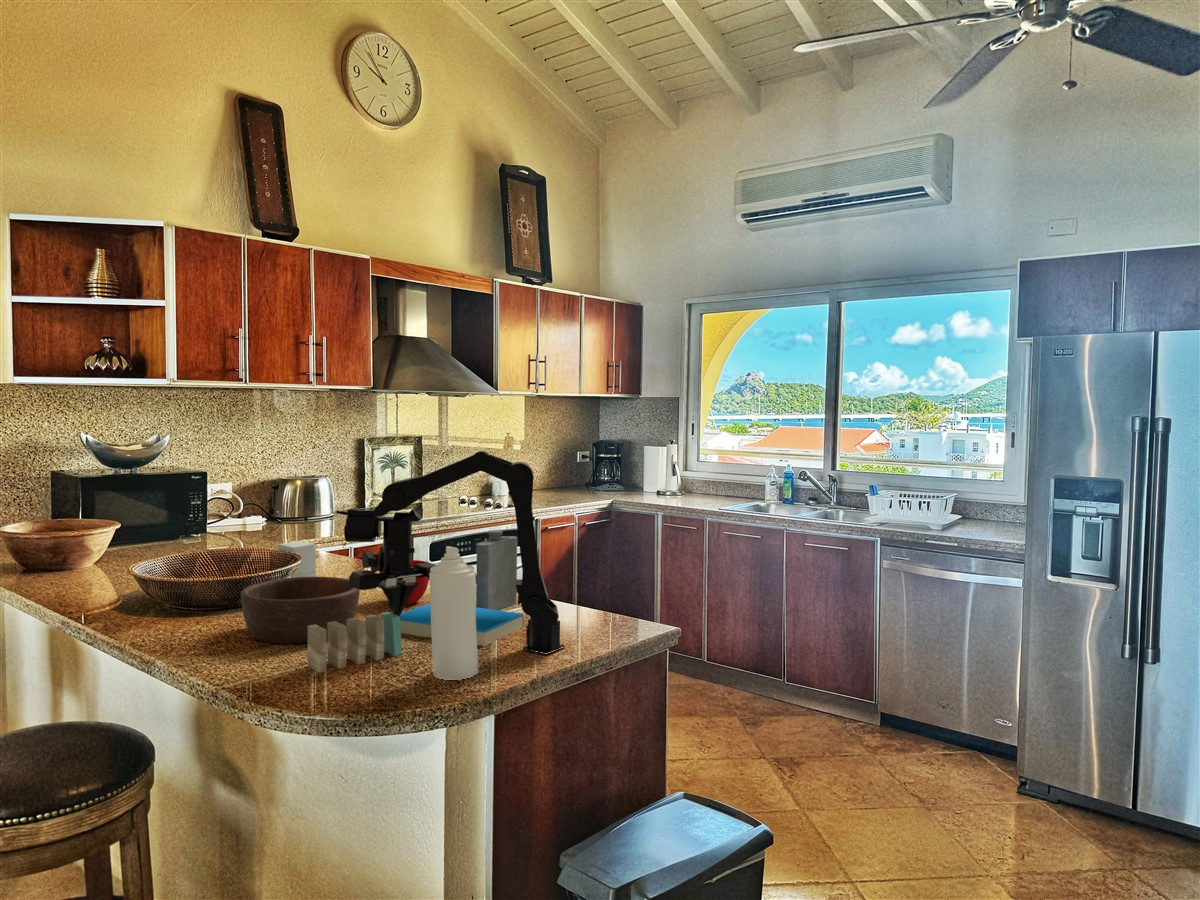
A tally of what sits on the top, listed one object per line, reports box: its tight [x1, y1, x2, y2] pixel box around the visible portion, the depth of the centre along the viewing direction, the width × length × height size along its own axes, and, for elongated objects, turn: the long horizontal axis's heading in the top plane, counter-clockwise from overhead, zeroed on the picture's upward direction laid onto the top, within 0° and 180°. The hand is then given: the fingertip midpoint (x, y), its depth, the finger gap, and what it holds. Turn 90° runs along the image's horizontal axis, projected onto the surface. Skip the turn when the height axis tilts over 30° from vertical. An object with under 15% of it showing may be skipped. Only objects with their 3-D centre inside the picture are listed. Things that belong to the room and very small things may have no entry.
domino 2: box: [327, 621, 347, 669], centre depth 159 cm, size 2×5×8 cm, turn 42°
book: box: [400, 603, 525, 647], centre depth 185 cm, size 17×4×25 cm
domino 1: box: [307, 624, 327, 673], centre depth 157 cm, size 2×5×8 cm, turn 42°
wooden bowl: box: [240, 576, 361, 645], centre depth 182 cm, size 25×25×10 cm
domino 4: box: [364, 614, 385, 661], centre depth 165 cm, size 2×5×8 cm, turn 42°
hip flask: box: [476, 529, 518, 611], centre depth 205 cm, size 16×4×20 cm, turn 154°
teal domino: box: [380, 611, 403, 657], centre depth 167 cm, size 2×5×8 cm, turn 43°
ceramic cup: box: [378, 559, 430, 606], centre depth 213 cm, size 13×17×10 cm
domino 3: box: [346, 617, 366, 665], centre depth 162 cm, size 2×5×8 cm, turn 42°
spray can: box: [429, 545, 479, 681], centre depth 153 cm, size 12×11×25 cm
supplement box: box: [277, 540, 317, 578], centre depth 225 cm, size 7×7×13 cm
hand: (396, 617), depth 168 cm, fingers closed
